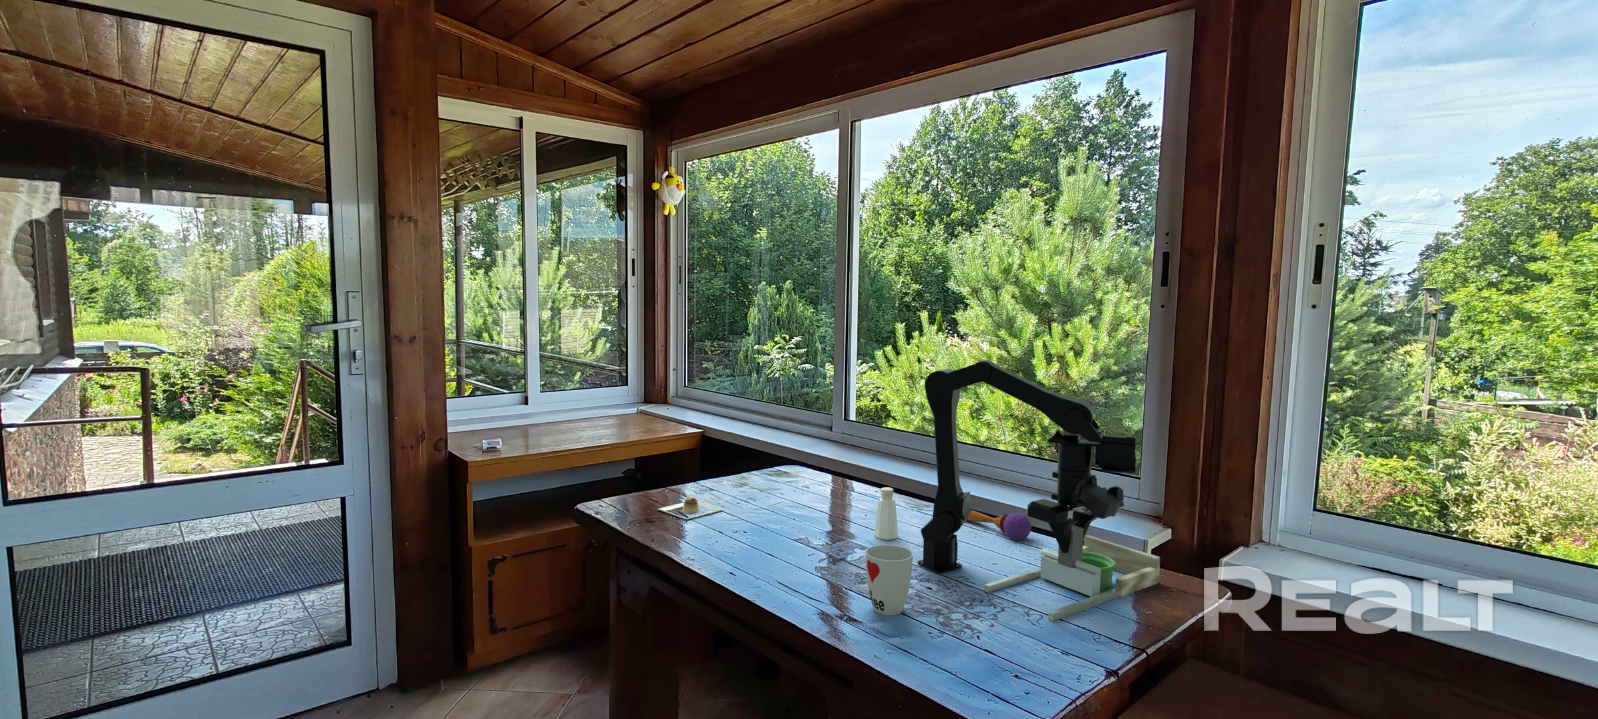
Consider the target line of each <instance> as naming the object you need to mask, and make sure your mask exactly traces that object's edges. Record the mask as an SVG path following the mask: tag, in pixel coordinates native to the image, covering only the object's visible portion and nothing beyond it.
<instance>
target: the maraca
mask: <svg viewBox="0 0 1598 719" xmlns="http://www.w3.org/2000/svg"><path fill="white" fill-rule="evenodd" d="M971 510H972V511H971V513H970V514H969V515H968V518H967V520H966V522H967V521H968V522H976V523H977V522H978V523H989V524H994V525H995V526H996V527H997V528H998V529H999V530H1000V531H1001V532H1002V533H1005V535H1007V537H1009V538H1010V539H1012V540H1013V539H1014V540H1017V541H1019V540H1024V539H1026V538H1027V537H1028V536H1029V535H1030V534H1031V532H1032V524H1031V520H1030V519H1029V518H1028V516H1027V515H1025V514H1023V513H1021V512H1012V513H1009V514H1003V515H999V516H997V517H991V516H989V515H986V514H984V513H981V512H978V511H975V510H973V509H971Z"/></svg>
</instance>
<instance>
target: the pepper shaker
mask: <svg viewBox="0 0 1598 719" xmlns="http://www.w3.org/2000/svg"><path fill="white" fill-rule="evenodd" d="M880 491H881V492H880V495H881V496H880V498H879V499H878V502H877V509H876V510H877V511H876V518H875V527H874V537H876V538H877V539H879V540H884V539H885V541H889V540H895V539H897V538H898V537H899V530H898V528H899V527H898V516H897V506H896V505H897V504H896V499H894V498H893V496H894V488H892V487H887V486H886V487H882V488H881V489H880Z"/></svg>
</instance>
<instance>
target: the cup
mask: <svg viewBox="0 0 1598 719" xmlns="http://www.w3.org/2000/svg"><path fill="white" fill-rule="evenodd" d="M913 559H914V553H913V551H912V550H911V549H910V548H908V547H904V546H901V545H896V544H877V545H872V546H870V547H868V548H866V549H865V572H866V580H867V586H868V594H869V598H870V602H871V605H872V608H873V611H874V612H876V613H878V614H880V615H883V616H896V615H899V614H902V613H903V610H904V607H905V605H906V603H907V599H908V595H909V590H910V585H911V581H912V571H913V561H914V560H913Z"/></svg>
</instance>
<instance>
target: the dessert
mask: <svg viewBox="0 0 1598 719" xmlns="http://www.w3.org/2000/svg"><path fill="white" fill-rule="evenodd" d="M692 496H693V497H692ZM692 496H691V494H689V495H687V496H686V498H685V500H684V502H680V503H676V504H671V505H668V506H667V505H666V506H663V507H659V508H657V510H658V511H661V512H663V513H666V514H669V515H672V516H675V517H678V518H681V519H683V520H686V521H688V520H691V519H696V518H699V517H700V518H701V517H704V516H707V515H711V514H714V513H718V512H721V511H724V510H725V508H723V507H719V506H716V505H712V504H710V503H706V502H705V501H700V500H697V498H696V497H695V496H694V495H692ZM699 506H700V507H703V508H707V509H709V510H712V511H710V512H705V513H702V514H698V513H700V512H701V511H700V510H701V509H700V507H699ZM678 508H682V509H681V512H682V513H683V514H688V515H689V514H690V515H691V514H698V515H694V516H691V517H688V518H687V517H684V516H681V515H678V514H676V513H673V512H669V511H670V510H674V509H678Z"/></svg>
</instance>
